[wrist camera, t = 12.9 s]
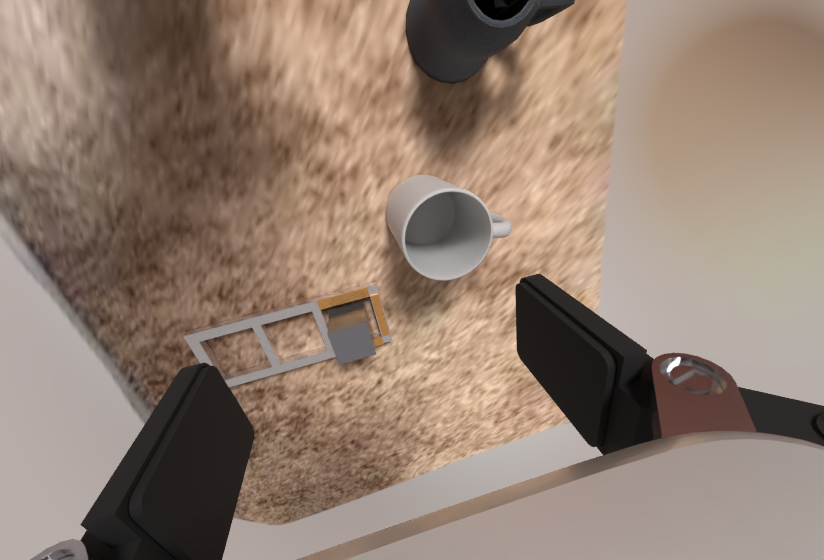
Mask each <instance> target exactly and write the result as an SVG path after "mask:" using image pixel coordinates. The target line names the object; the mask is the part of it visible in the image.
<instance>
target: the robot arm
mask: <svg viewBox="0 0 824 560" xmlns="http://www.w3.org/2000/svg"><path fill="white" fill-rule="evenodd" d="M516 332H517V352H518V355H519V357H520V359H521V360H522V362H523V363H524V364H525V365H526V367H527V368H528V369H529V370H530V372H531V373H532V374H533V375H534V377H535V378H536V379H537V380H538V382H539V383H540V384H541V385H542V387H543V388H544V389H545V390H546V392H547V393H548V394H549V395H550V397H551V398H552V399H553V400H554V402H555V403H556V404H557V406H558V407H559V408H560V409H561V411H562V412H563V413H564V414H565V416H566V417H567V418H568V419H569V421H570V422H571V423H572V424H573V426H574V427H575V428H576V429H577V431H578V432H579V433H580V434H581V435H582V437H583V438H584V439H585V441H586V442H587V443H588V444H589V445H591V446H592V447H597V448H598V449H599V450H600V452H601V453H602V454H603V456H599V457H596V458H593V459H590V460H587V461H584V462H581V463H577V464H574V465H571V466H568V467H566V468H562V469H559V470H556V471H553V472H551V473H548V474H545V475H542V476H539V477H536V478H533V479H530V480H527V481H524V482H521V483H518V484H515V485H512V486H509V487H506V488H503V489H500V490H497V491H494V492H491V493H488V494H485V495H483V496H480V497H476V498H474V499H471V500H468V501H465V502H462V503H459V504H456V505H453V506H450V507H447V508H444V509H442V510H439V511H436V512H433V513H430V514H427V515H424V516H421V517H418V518H415V519H412V520H409V521H407V522H404V523H401V524H398V525H395V526H392V527H389V528H386V529H384V530H380V531H378V532H375V533H372V534H369V535H366V536H363V537H360V538H358V539H354V540H352V541H349V542H346V543H343V544H340V545H337V546H334V547H332V548H329V549H326V550H323V551H320V552H317V553H314V554H311V555H308V556H305V557H303V558H300V559H297V560H824V406H821V405H817V404H812V403H808V402H803V401H799V400H794V399H789V398H785V397H781V396H776V395H772V394H768V393H763V392H759V391H754V390H750V389H745V388H740V387H737V384H736V382H735V381H734V379H733V378H732V376H731V375H730V374H729V373H728V372H727V371H725V370H724V369H723V368H722V367H720V366H718V365H716V364H715V363H713V362H711V361H709V360H706V359H703V358H701V357H698V356H694V355H689V354H684V353H668V354H663V355H660V356H658V357H656V358H655V359H653V358H652V357H650V356H649V355H647V354H646V352H647V350H646V349H644V348H643V347H642V346H640V345H639V344H637V343H636V342H634V341H633V340H632V339H630V338H629V337H628V336H626V335H625V334H623V333H622V332H621V331H619V330H618V329H617V328H615V327H614V326H612V325H611V324H609V323H608V322H606V321H605V320H604V319H603V318H601V317H600V316H598V315H597V314H596V313H594V312H593V311H591V310H590V309H589V308H587V307H586V306H584V305H583V304H582V303H580V302H579V301H577V300H576V299H575V298H573V297H572V296H570V295H569V294H568V293H566V292H565V291H563V290H562V289H561V288H559V287H558V286H556V285H555V284H554V283H552V282H551V281H549V280H548V279H547V278H545V277H544V276H542V275H541V274H536V275H532V276H528V277H524V278H522V279H521V280H520V283H519V284H517V285H516ZM253 440H254V430H253V427H252V425H251V423H250V421H249V420H248V418H247V416H246V415H245V413H244V411H243V410H242V408H241V407H240V405H239V403H238V402H237V400H236V398H235V397H234V395H233V393H232V392H231V390H230V388H229V387H228V385H227V384H226V382H225V380H224V379H223V377H222V375H221V374H220V372H219V370H218V369H217V368H216V367H215V366H210V365H209V364H207V363H200V364H197V365H193V366H189V367H185V368H183V369H181V370H180V371H179V372H178V374H177V376H176V377H175V379H174V380H173V382H172V383H171V385H170V386H169V388H168V390H167V391H166V393H165V394H164V396H163V397H162V399H161V400H160V402H159V404H158V405H157V407H156V408H155V410H154V411H153V413H152V414H151V416H150V418H149V419H148V421H147V422H146V424H145V425H144V427H143V429H142V430H141V432H140V433H139V435H138V436H137V438H136V439H135V441H134V442H133V444H132V446H131V447H130V449H129V450H128V452H127V453H126V455H125V456H124V458H123V460H122V461H121V463H120V464H119V466H118V467H117V469H116V470H115V472H114V474H113V475H112V477H111V478H110V480H109V481H108V483H107V484H106V486H105V488H104V489H103V491H102V492H101V494H100V495H99V497H98V499H97V500H96V502H95V503H94V505H93V506H92V508H91V509H90V511H89V512H88V514H87V516H86V517H85V519H84V520H83V522H82V523H81V526H83V527H84V528H85V529H86V530H87V531H86V532H85V534H84V536H83V537H82V539H81V540H80V541H79V540H74V539H72V540H68V541H63V542H60V543H58V544H56V545H54V546H52V547H49V548H47V549H46V550H44V551H43V552H41V553H40V554H38V555H37V556H35V557H34V558H32V559H31V560H222V557H223V553H224V550H225V546H226V542H227V538H228V535H229V531H230V527H231V523H232V519H233V516H234V512H235V508H236V504H237V500H238V497H239V493H240V489H241V485H242V482H243V478H244V474H245V470H246V466H247V463H248V459H249V455H250V451H251V447H252V444H253Z"/></svg>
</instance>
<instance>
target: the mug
mask: <svg viewBox="0 0 824 560" xmlns="http://www.w3.org/2000/svg"><path fill="white" fill-rule="evenodd" d="M386 219H387V224H388V227H389V229H390V231H391V233H392V234H393V236H394V238H395V239H396V241H397V243H398V245H399V247H400V249H401V251H402V253H403V255H404V257H405V259H406V260H407V262H408V263H409V265H410V266H411V267H412V268H413V269H414V270H415V271H416V272H418V273H419V274H421V275H422V276H424V277H427V278H430V279H433V280H439V281H446V280H453V279H457V278H460V277H462V276H464V275H466V274H468V273H469V272H471V271H472V270H474V269H475V268H476V267H477V266H478V265H479V264H480V263H481V262H482V260H483V259H484V258H485V256H486V254H487V252H488V250H489V248H490V245H491V242H492V238H502V237H506V236H508V235H509V234H510V233H511V230H512V225H511V223H510V222H509V220H507V219H506V218H504V217H502V216H499V215H497V214H493V213H490V212H489V210H488V208H487V207H486V205H485V204H484V202H483V201H482V200H481V199H480V198H479V197H477V196H476V195H475V194H473V193H472V192H470V191H468V190H465V189H463V188H460V187H458V186H456V185H453V184H451V183H448V182H446V181H444V180H442V179H440V178H437V177H435V176H431V175H415V176H412V177H409V178H407V179H405V180H403V181H402V182H401V183H399V184H398V185H397V186H396V187H395V189H394V190H393V191H392V193H391V195H390V197H389V199H388V202H387V206H386Z"/></svg>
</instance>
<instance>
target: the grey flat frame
mask: <svg viewBox="0 0 824 560" xmlns="http://www.w3.org/2000/svg"><path fill="white" fill-rule="evenodd" d="M366 297H370V299H371V302H372V305H373V309H374V312H375V316H376V319H377V322H378V326H379V329H380V331H379V332H376V333H373V337H374V344H375V346H379V345H382V344H384V343H386V342H390V341H392V337H391V334H390V330H389V326H388V323H387V319H386V316H385V312H384V308H383V305H382V301H381V298H380V294H379V290H378V287H377V283H376V281H373V282H369V283H366V284H362V285H358V286H354V287H351V288H347V289H343V290H339V291H336V292H332V293H328V294H324V295H321V296H317V297H313V298H309V299H306V300H302V301H298V302H294V303H291V304H287V305H283V306H279V307H276V308H272V309H268V310H264V311H261V312H257V313H253V314H249V315H246V316H242V317H238V318H234V319H231V320H227V321H223V322H219V323H216V324H212V325H208V326H204V327H201V328H197V329H193V330H189V331H187V333H186V334H185V335H184V336H183V337H184V338H185V340H186V342H187V343H188V345H189V346H190V348H191V349H192V351H193V353H194V354H195V356H196V357H197V359H198V361H199V362H200V363H207V364H209V365H210V366H215V367H216V368H217V369H218V370H219V372H220V374H221V375H222V377H223V379H224V380H225V382H226V384H227V385H228V387H232V386H236V385H239V384H243V383H246V382H250V381H253V380H257V379H260V378H264V377H267V376H271V375H274V374H278V373H281V372H285V371H288V370H292V369H295V368H299V367H302V366H306V365H309V364H313V363H316V362H320V361H323V360H327V359H330V358H334V357H336V355H335V353H334V350H333V348H332V345H331V343H330V340H329V337H328V335H327V332H328V322H327V320H326V317H325V315H324V312H323V309H325V308H329V307H333V306H336V305H340V304H344V303H347V302H351V301H355V300H359V299H362V298H366ZM311 311H312V313H313V315H314V318H315V320H316V323H317V325H318V328H319V330H320V333H321V335H322V338H323V340H324V343H325V346H326V347H322V348H319V349H315V350H312V351H308V352H305V353H301V354H298V355H294V356H291V357H287V358H283V359H281V356H280V354H279V352H278V350H277V348H276V346H275V344H274V342H273V340H272V338H271V336H270V334H269V332H268V330H267V328H266V325H265V324H267V323H271V322H274V321H278V320H282V319H285V318H289V317H293V316H297V315H300V314H304V313H308V312H311ZM248 328H253V330H254V332H255V334H256V336H257V338H258V340H259V342H260V344H261V346H262V348H263V350H264V352H265V354H266V356H267V358H268V360H269V363H266V364H262V365H259V366H255V367H252V368H248V369H244V370H241V371H237V372H234V373H230V374H227V375H226V374H225V372H224V370H223V369H222V367H221V365H220V364H219V362H218V360H217V359H216V357H215V355H214V354H213V352H212V350H211V349H210V347H209V345H208V344H207V342H206V340H208V339H212V338H215V337H219V336H223V335H226V334H230V333H234V332H237V331H241V330H245V329H248Z"/></svg>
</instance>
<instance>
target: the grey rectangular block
mask: <svg viewBox="0 0 824 560" xmlns="http://www.w3.org/2000/svg"><path fill="white" fill-rule="evenodd" d="M327 335H328V337H329V340H330V343H331V345H332V348H333V350H334V353H335V355H336V358H337V361H338V363H339V365H341V364H344V363H348V362H351V361H355V360H358V359H361V358H365V357H368V356H372V355H375V354H376V350H375V344H374V337H373V330H372V325H371V322H370V319H369V316H368V313H367V309H366V306H365V303H364V300H363V299H362V300H358V301H355V302H351V303H347V304H344V305H340V306H336V307H333V308H330V309H329V320H328V332H327Z"/></svg>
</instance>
